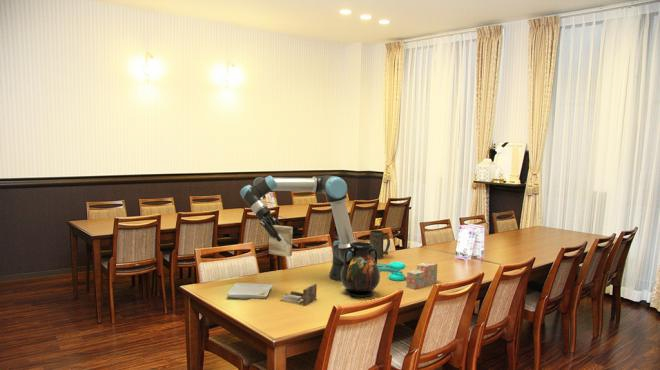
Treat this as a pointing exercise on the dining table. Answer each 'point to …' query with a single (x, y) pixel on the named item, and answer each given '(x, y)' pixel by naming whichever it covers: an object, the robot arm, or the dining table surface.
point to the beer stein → (378, 243)
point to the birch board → (276, 246)
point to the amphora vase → (360, 271)
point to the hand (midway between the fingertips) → (286, 244)
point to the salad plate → (249, 290)
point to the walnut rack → (306, 295)
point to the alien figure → (386, 268)
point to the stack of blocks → (422, 276)
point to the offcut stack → (293, 299)
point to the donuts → (397, 275)
